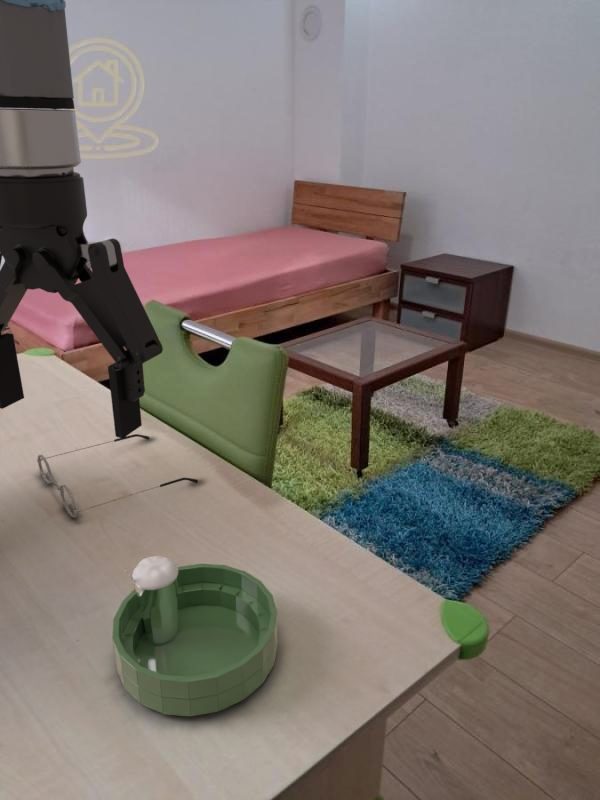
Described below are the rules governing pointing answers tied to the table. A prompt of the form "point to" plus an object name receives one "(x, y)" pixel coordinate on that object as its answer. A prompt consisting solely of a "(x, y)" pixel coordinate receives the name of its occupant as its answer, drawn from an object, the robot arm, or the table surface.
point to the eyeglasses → (60, 488)
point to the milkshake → (157, 597)
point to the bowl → (200, 643)
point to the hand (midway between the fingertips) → (67, 416)
